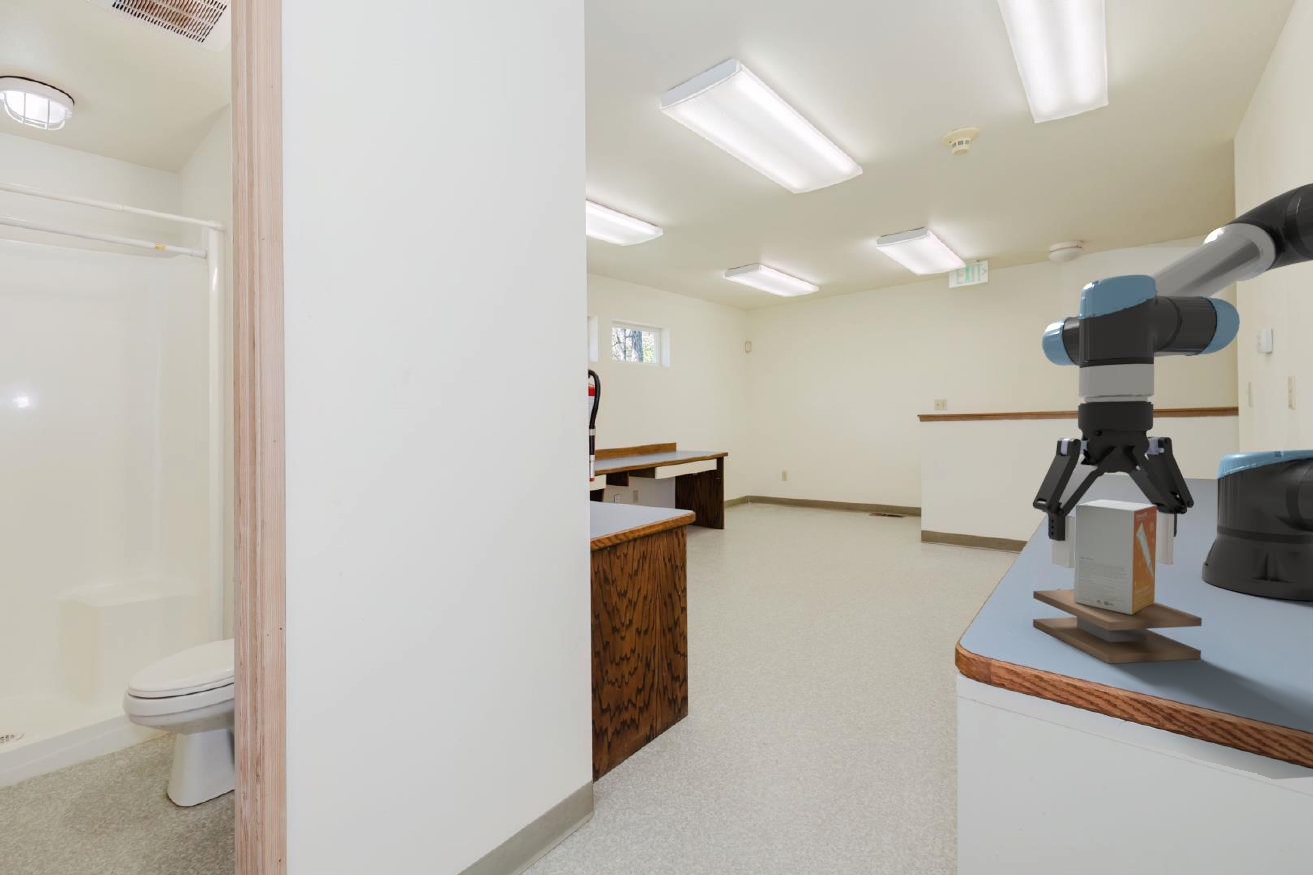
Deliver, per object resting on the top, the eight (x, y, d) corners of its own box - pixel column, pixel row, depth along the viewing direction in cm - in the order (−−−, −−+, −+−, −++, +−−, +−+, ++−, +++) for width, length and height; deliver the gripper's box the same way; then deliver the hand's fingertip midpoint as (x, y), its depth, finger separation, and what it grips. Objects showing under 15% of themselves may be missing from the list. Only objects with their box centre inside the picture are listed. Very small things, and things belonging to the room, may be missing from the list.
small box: (1133, 616, 68) (1135, 510, 68) (1072, 602, 74) (1073, 503, 73) (1156, 603, 73) (1158, 503, 72) (1097, 591, 78) (1099, 498, 78)
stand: (1112, 622, 80) (1113, 587, 80) (1200, 658, 68) (1201, 617, 68) (1032, 626, 79) (1033, 590, 79) (1108, 663, 67) (1109, 622, 67)
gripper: (1174, 400, 77) (1171, 553, 78) (1002, 402, 75) (1001, 559, 76) (1235, 398, 69) (1231, 568, 70) (1046, 400, 67) (1043, 575, 68)
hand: (1111, 563), depth 73 cm, fingers open, 13 cm apart
